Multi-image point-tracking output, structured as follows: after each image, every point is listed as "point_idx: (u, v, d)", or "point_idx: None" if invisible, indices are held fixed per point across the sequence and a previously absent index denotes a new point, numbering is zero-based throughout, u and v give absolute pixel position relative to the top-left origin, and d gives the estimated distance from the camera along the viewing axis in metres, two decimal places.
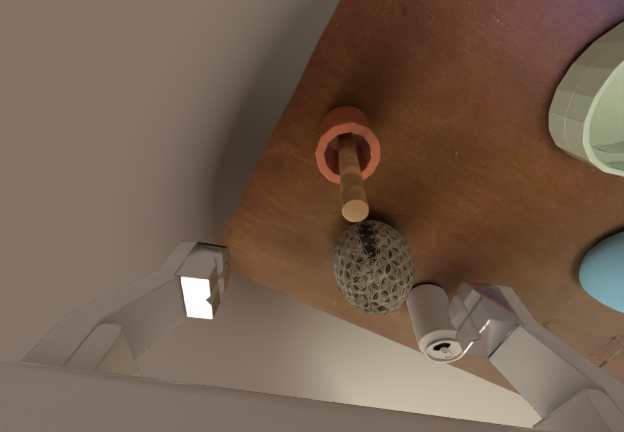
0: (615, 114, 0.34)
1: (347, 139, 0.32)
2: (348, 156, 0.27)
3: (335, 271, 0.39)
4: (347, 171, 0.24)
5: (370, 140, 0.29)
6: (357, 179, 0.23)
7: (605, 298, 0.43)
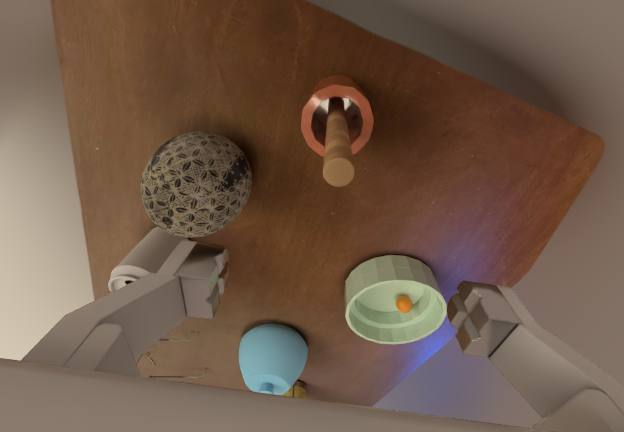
0: (375, 290, 0.51)
1: None
2: None
3: (176, 146, 0.29)
4: (348, 138, 0.21)
5: (356, 144, 0.28)
6: None
7: (246, 351, 0.55)
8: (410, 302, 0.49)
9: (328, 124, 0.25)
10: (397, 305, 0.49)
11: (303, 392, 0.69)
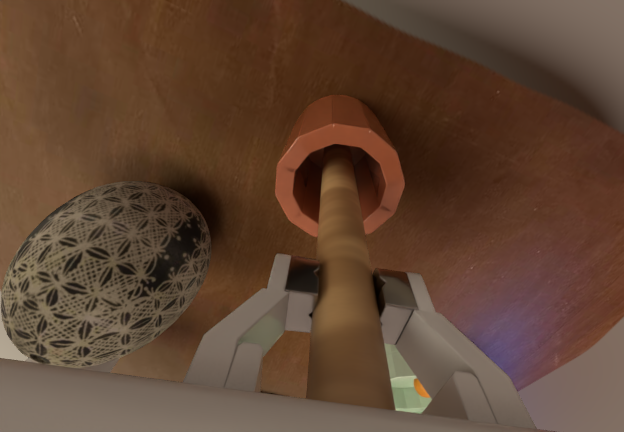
0: None
1: (353, 168, 0.17)
2: (361, 212, 0.13)
3: (64, 222, 0.17)
4: (367, 261, 0.09)
5: (372, 220, 0.16)
6: None
7: None
8: None
9: (323, 200, 0.13)
10: (416, 387, 0.38)
11: None
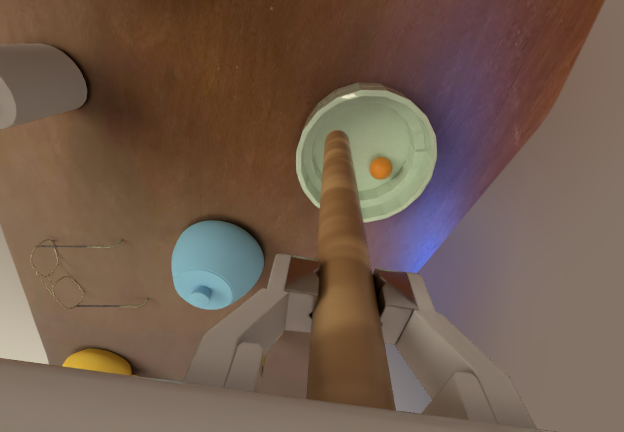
0: None
1: None
2: (361, 212, 0.13)
3: None
4: (368, 261, 0.09)
5: None
6: None
7: (177, 249, 0.42)
8: (388, 161, 0.36)
9: (323, 200, 0.13)
10: (371, 168, 0.36)
11: None
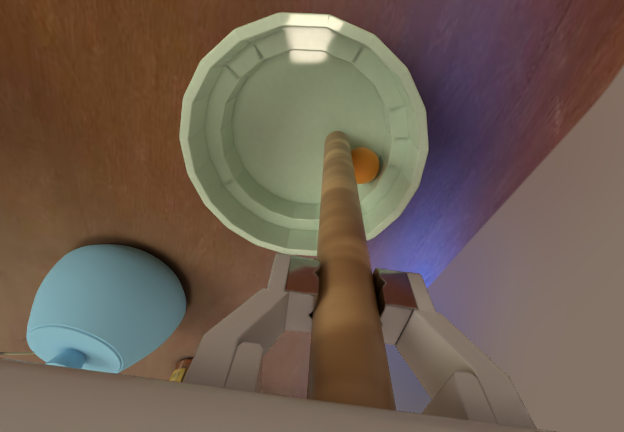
0: (280, 143, 0.24)
1: None
2: (361, 212, 0.13)
3: None
4: (368, 261, 0.09)
5: None
6: None
7: (38, 289, 0.28)
8: None
9: (324, 200, 0.13)
10: (361, 170, 0.21)
11: None
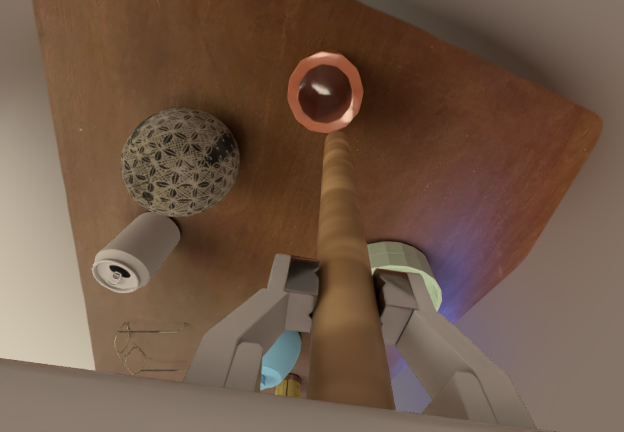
0: None
1: None
2: (361, 213, 0.13)
3: (157, 120, 0.27)
4: (368, 262, 0.09)
5: (346, 117, 0.27)
6: None
7: None
8: None
9: (323, 201, 0.13)
10: None
11: (297, 386, 0.68)
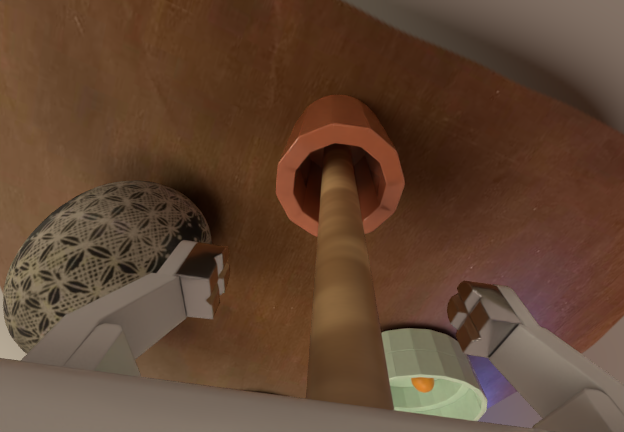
0: None
1: (353, 169, 0.17)
2: (360, 213, 0.13)
3: (65, 221, 0.17)
4: (367, 261, 0.10)
5: (373, 219, 0.16)
6: None
7: None
8: (431, 382, 0.36)
9: (323, 200, 0.13)
10: None
11: None
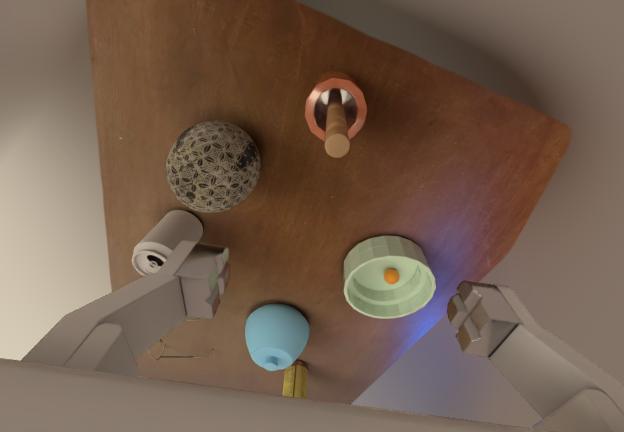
0: (371, 269, 0.55)
1: None
2: None
3: (197, 132, 0.33)
4: (345, 122, 0.26)
5: (352, 129, 0.33)
6: None
7: (252, 328, 0.60)
8: (394, 275, 0.52)
9: (328, 112, 0.29)
10: (386, 270, 0.55)
11: (305, 371, 0.74)
